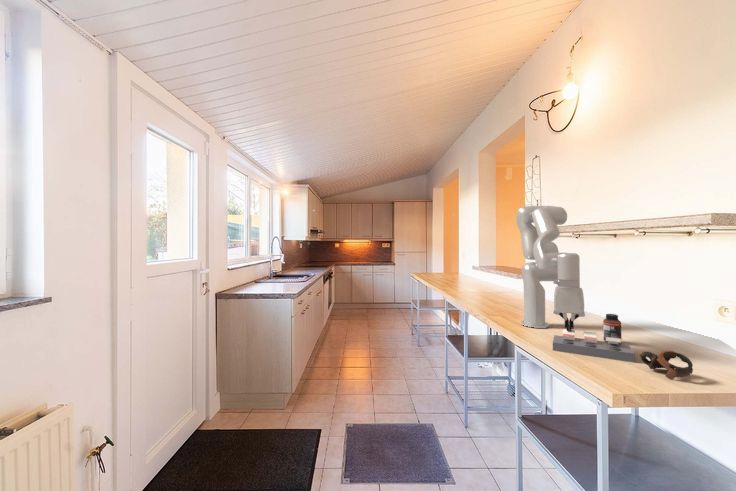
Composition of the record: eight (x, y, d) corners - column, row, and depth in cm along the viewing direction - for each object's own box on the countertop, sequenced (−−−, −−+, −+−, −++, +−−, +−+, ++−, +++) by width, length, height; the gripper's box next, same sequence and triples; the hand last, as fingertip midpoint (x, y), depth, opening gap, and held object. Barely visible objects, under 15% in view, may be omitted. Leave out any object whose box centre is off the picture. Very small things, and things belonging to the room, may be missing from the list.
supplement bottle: (615, 340, 135) (615, 313, 135) (625, 344, 129) (625, 316, 129) (600, 339, 136) (599, 313, 136) (609, 344, 130) (609, 316, 130)
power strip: (554, 342, 132) (554, 334, 132) (629, 352, 119) (629, 343, 119) (552, 350, 122) (552, 341, 122) (634, 362, 109) (634, 352, 109)
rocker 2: (606, 342, 122) (605, 337, 122) (619, 344, 120) (619, 338, 120) (607, 343, 117) (607, 336, 118) (621, 344, 115) (620, 338, 115)
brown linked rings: (685, 373, 101) (696, 355, 96) (685, 396, 94) (697, 377, 90) (636, 356, 108) (645, 338, 103) (634, 376, 102) (642, 358, 97)
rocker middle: (583, 336, 126) (583, 331, 126) (596, 337, 124) (596, 332, 124) (584, 343, 122) (584, 338, 121) (597, 345, 119) (597, 339, 119)
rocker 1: (562, 333, 130) (562, 328, 130) (574, 334, 128) (574, 329, 128) (562, 340, 125) (562, 335, 125) (574, 342, 123) (574, 337, 123)
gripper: (546, 283, 129) (546, 329, 129) (591, 285, 121) (592, 334, 121) (547, 282, 136) (548, 326, 135) (590, 284, 127) (591, 330, 127)
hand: (569, 330), depth 128 cm, fingers closed
